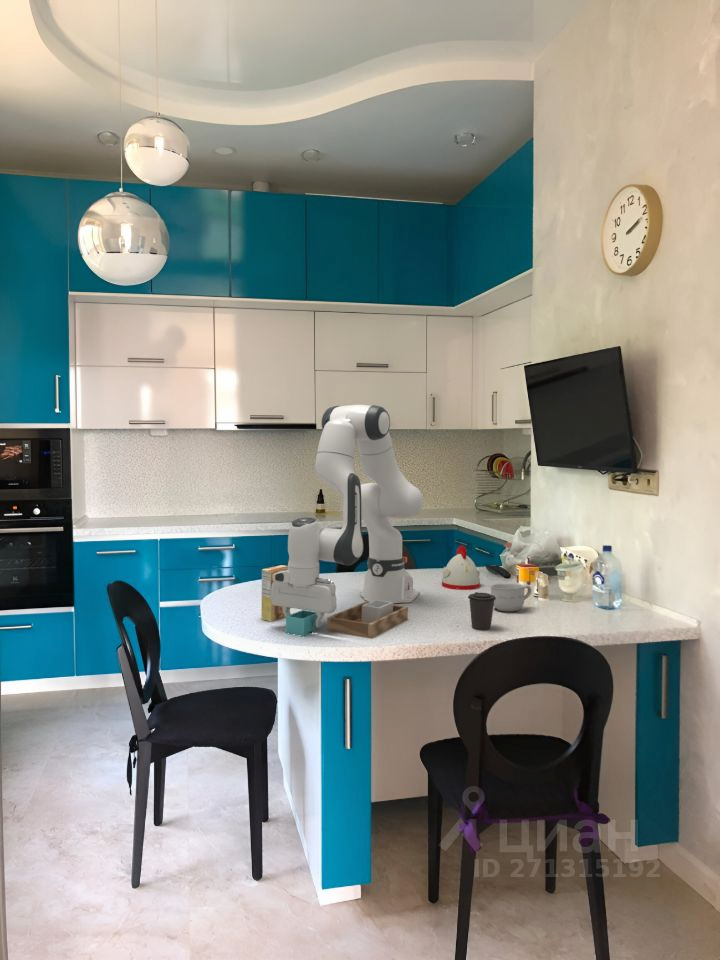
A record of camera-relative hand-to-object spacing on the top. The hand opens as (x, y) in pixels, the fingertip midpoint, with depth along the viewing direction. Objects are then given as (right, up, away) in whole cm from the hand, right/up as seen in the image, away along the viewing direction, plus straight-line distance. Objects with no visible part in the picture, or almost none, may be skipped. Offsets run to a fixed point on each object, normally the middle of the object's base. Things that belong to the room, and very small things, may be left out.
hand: (303, 624), depth 207 cm
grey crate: (+21, -1, +9) cm, 23 cm away
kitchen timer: (+53, +1, +63) cm, 83 cm away
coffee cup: (+51, -2, +6) cm, 52 cm away
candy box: (-9, -1, +14) cm, 17 cm away
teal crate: (0, -2, 0) cm, 2 cm away
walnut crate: (+19, -2, +5) cm, 19 cm away
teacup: (+65, -1, +28) cm, 71 cm away
